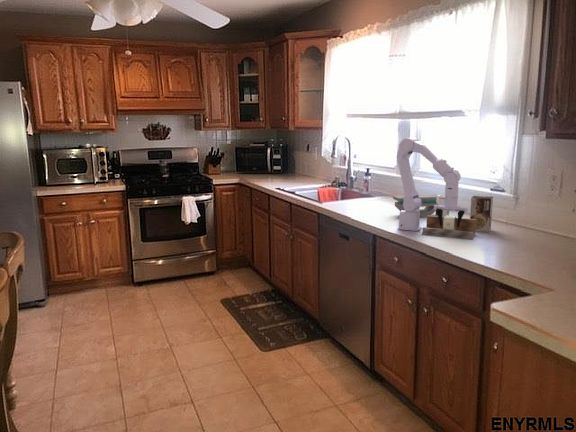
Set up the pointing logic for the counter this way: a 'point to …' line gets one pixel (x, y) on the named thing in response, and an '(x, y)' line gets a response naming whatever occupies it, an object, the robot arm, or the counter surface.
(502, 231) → the counter surface
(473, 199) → the coffee box
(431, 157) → the robot arm
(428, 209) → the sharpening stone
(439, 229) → the cleat board
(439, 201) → the syrup box
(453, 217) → the cream box
